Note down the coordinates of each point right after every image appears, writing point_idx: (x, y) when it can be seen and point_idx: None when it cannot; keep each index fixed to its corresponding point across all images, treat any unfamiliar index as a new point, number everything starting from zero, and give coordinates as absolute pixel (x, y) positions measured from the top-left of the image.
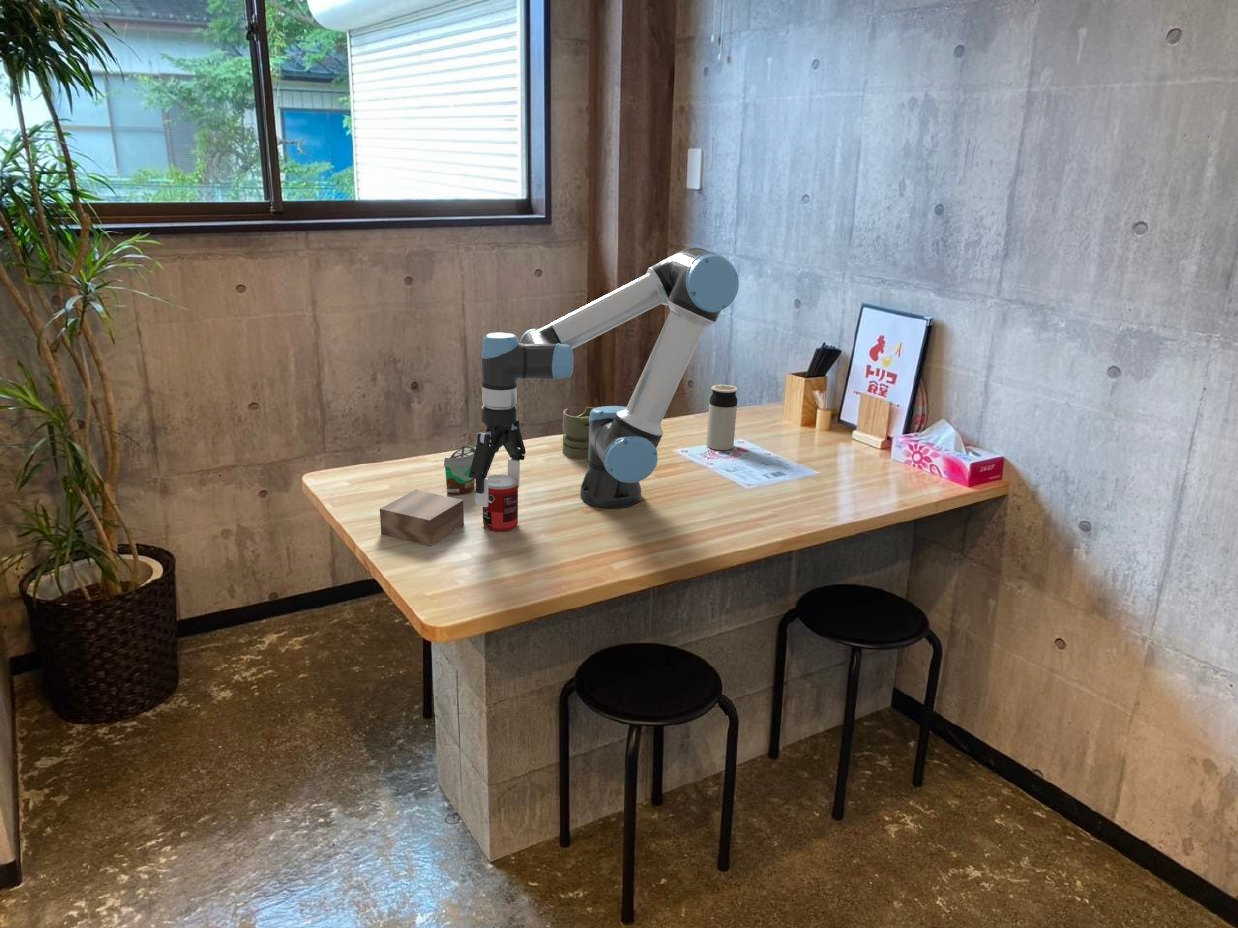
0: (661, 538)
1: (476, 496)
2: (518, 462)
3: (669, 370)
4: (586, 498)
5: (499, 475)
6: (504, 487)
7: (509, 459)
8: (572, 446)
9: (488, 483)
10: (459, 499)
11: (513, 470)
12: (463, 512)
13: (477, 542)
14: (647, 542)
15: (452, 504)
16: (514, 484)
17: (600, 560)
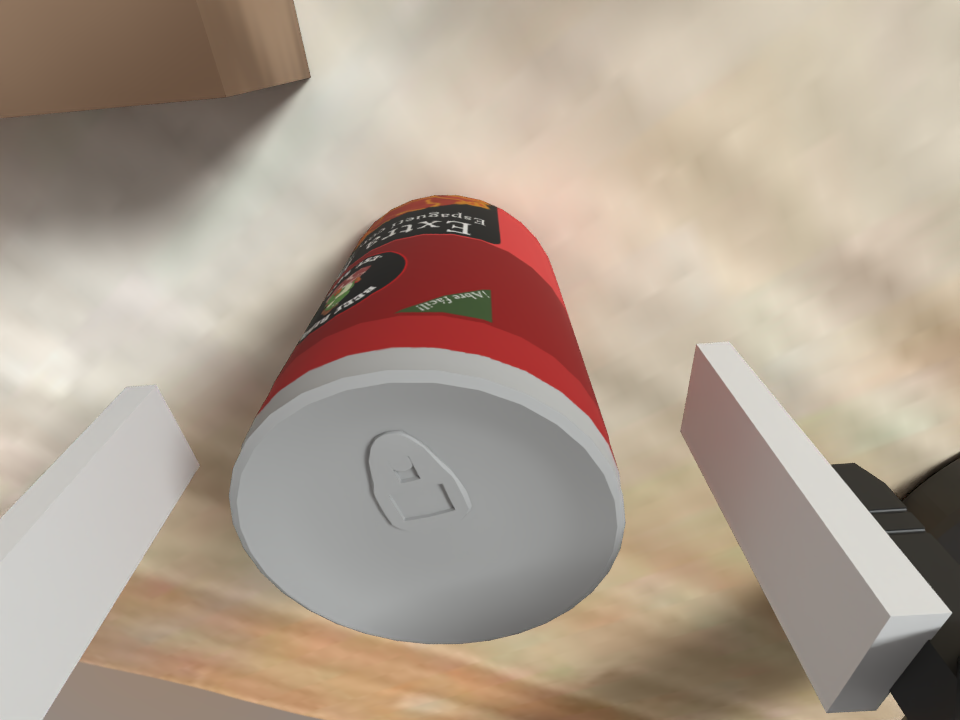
0: (651, 714)
1: (76, 450)
2: (824, 694)
3: None
4: (940, 499)
5: (579, 458)
6: (331, 614)
7: (894, 630)
8: None
9: (302, 472)
10: (199, 44)
11: (766, 534)
12: (274, 85)
13: (193, 322)
14: (605, 703)
15: (47, 73)
16: (440, 642)
17: (415, 673)
